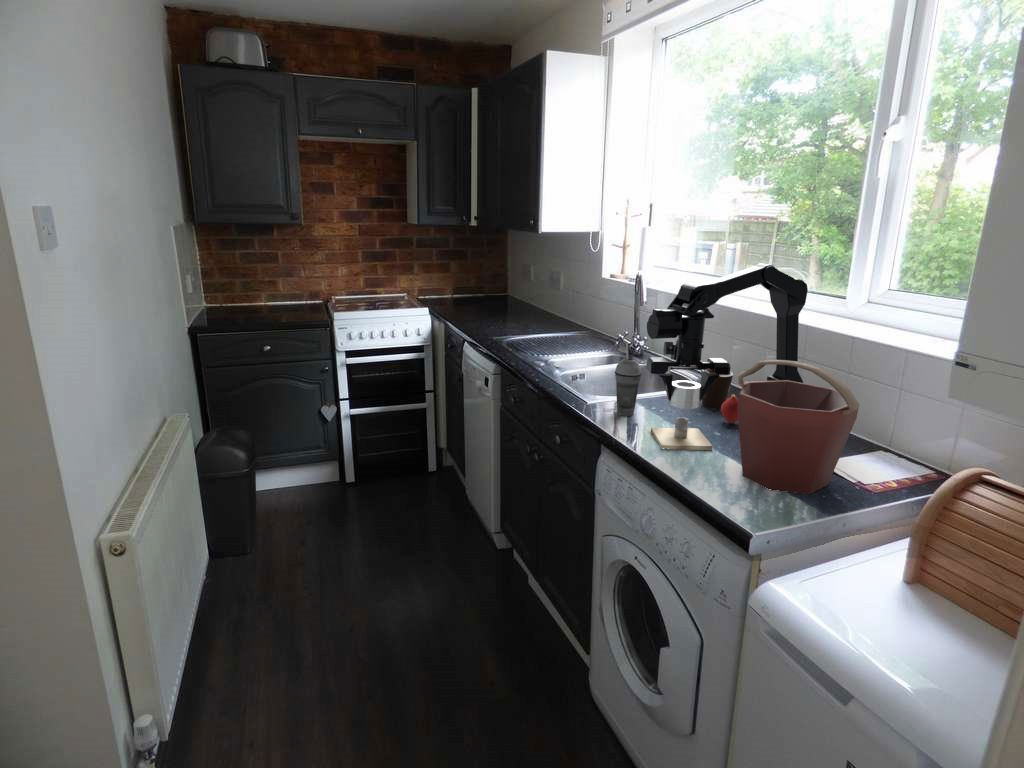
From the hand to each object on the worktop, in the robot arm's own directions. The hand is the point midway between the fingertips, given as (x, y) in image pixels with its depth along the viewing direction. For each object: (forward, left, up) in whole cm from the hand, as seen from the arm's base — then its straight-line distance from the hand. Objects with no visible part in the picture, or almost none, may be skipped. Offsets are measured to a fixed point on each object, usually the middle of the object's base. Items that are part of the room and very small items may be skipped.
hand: (684, 400), depth 151 cm
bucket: (-17, +20, -11) cm, 29 cm away
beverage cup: (+10, -20, -11) cm, 25 cm away
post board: (0, 0, -10) cm, 10 cm away
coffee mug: (-18, -29, -11) cm, 36 cm away
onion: (-17, -13, -11) cm, 24 cm away
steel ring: (0, 0, -1) cm, 1 cm away
